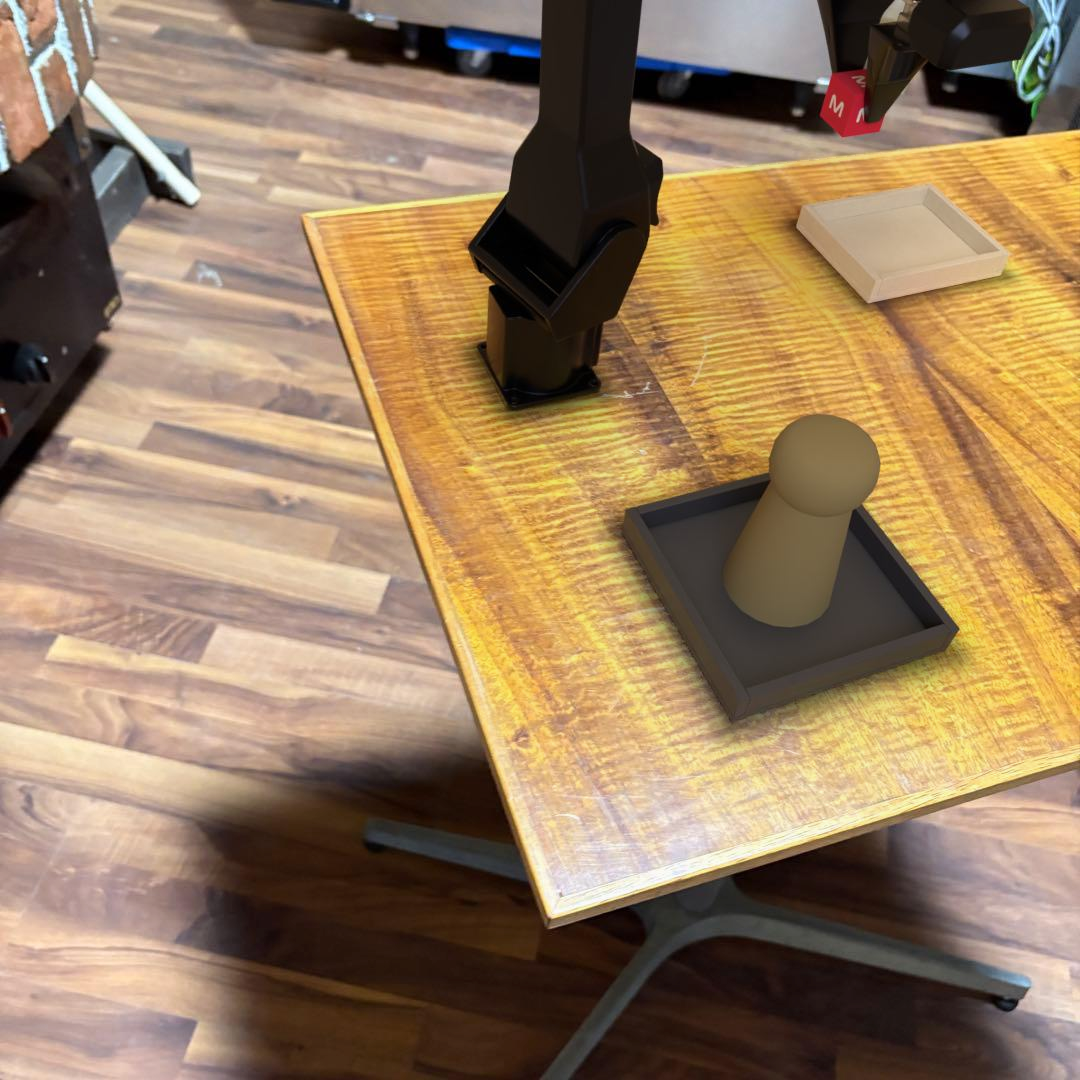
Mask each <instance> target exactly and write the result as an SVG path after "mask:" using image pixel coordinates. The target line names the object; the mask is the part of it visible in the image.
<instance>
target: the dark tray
mask: <svg viewBox="0 0 1080 1080" xmlns="http://www.w3.org/2000/svg"><path fill="white" fill-rule="evenodd" d="M770 482H771V480H770V473H769V471H768V472H765V473H759V474H757V475H752V476H750V477H745V478H741V479H737V480H733V481H729V482H726V483H722V484H717V485H714V486H710V487H706V488H703V489H700V490H695V491H690V492H687V493H683V494H679V495H676V496H675V495H674V496H671V497H669V498H664V499H660V500H656V501H651V502H649V503H645V504H641V505H636V506H631V507H629V508H625V512H624V516H623V521H622V527H621V534H622V535H623V537H624V539H625V541H626V542H627V544H628V546H629V548H630V549H631V551H632V553H633V555H634V557H635V558H636V560H637V562H638V563H639V565H640V567H641V569H642V571H643V572H644V574H645V576H646V577H647V579H648V580H649V582H650V585H651V586H652V588H653V589H654V591H655V592H656V594H657V596H658V598H659V600H660V601H661V603H662V605H663V607H664V608H665V610H666V611H667V613H668V615H669V617H670V619H671V621H672V622H673V624H674V625H675V627H676V629H677V630H678V632H679V634H680V636H681V638H682V639H683V641H684V643H685V644H686V647H687V648H688V649H689V651H690V653H691V655H692V656H693V658H694V660H695V661H696V663H697V665H698V667H699V669H700V670H701V673H702V674H703V675H704V677H705V679H706V681H707V683H708V684H709V686H710V688H711V689H712V691H713V693H714V695H715V696H716V698H717V700H718V701H719V703H720V705H721V707H722V708H723V710H724V712H725V714H726V715H727V717H728V719H729V720H730V722H731V723H734V722H736V721H737V722H738V721H739V720H743V719H745V718H749V717H751V716H754V715H757V714H760V713H763V712H766V711H769V710H772V709H775V708H778V707H781V706H784V705H787V704H790V703H792V702H796V701H800V700H802V699H805V698H808V697H811V696H814V695H816V694H820V693H823V692H826V691H828V690H832V689H835V688H837V687H841V686H844V685H847V684H849V683H853V682H855V681H859V680H862V679H864V678H868V677H870V676H873V675H876V674H879V673H882V672H885V671H888V670H891V669H894V668H898V667H900V666H903V665H905V664H909V663H912V662H915V661H918V660H921V659H924V658H926V657H927V658H928V657H929V656H932V655H935V654H938V653H941V652H944V651H947V649H948V648H949V646H950V645H951V643H952V642H953V640H954V639H955V637H956V636H957V635H958V633H959V632H960V629H961V628H960V627H959V626H958V624H957V623H956V622H955V621H954V618H952V616H950V614H949V613H948V612H947V610H946V609H945V608H944V606H943V605H942V604H941V603H940V601H939V600H938V599H937V598H936V596H935V595H934V594H933V593H932V591H931V590H930V589H929V588H928V586H927V585H926V583H925V582H924V581H923V579H921V577H920V576H919V575H918V574H917V572H916V571H915V569H914V568H913V567H912V566H911V564H910V563H909V562H908V561H907V559H906V558H905V556H903V554H902V553H901V552H900V551H899V549H898V548H897V547H896V545H895V544H894V543H893V542H892V540H891V539H890V538H889V536H888V535H887V534H886V533H885V532H884V530H883V529H882V528H881V526H880V525H879V524H878V522H877V521H876V520H875V519H874V518H873V516H872V515H871V513H870V512H869V511H868V510H867V509H866V507H865V506H864V504H863V503H862V504H861V505H860V506H859V507H858V508H856V509H854V510H852V514H851V518H850V522H849V526H848V530H847V535H846V539H845V543H844V547H843V551H842V555H841V559H840V563H839V567H838V571H837V575H836V579H835V583H834V587H833V591H832V595H831V599H830V603H829V607H828V608H827V609H826V611H825V612H824V613H823V614H822V616H821V617H820V618H818V619H816V620H814V621H812V622H811V623H809V624H806V625H801V626H796V627H780V626H772V625H769V624H766V623H763V622H760V621H757V620H755V619H754V618H752V617H751V616H749V615H748V614H746V613H744V612H743V611H741V610H740V609H739V607H738V606H737V605H736V604H735V603H734V602H733V601H732V600H731V599H730V597H729V595H728V593H727V591H726V589H725V587H724V583H723V569H724V566H725V563H726V560H727V558H728V556H729V554H730V553H731V551H732V549H733V547H734V545H735V544H736V542H737V540H738V538H739V537H740V535H741V533H742V531H743V529H744V528H745V526H746V524H747V522H748V521H749V519H750V517H751V515H752V513H753V512H754V510H755V508H756V506H757V505H758V503H759V501H760V499H761V498H762V496H763V494H764V492H765V490H766V489H767V487H768V485H769V483H770Z"/></svg>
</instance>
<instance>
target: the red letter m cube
mask: <svg viewBox="0 0 1080 1080" xmlns="http://www.w3.org/2000/svg"><path fill="white" fill-rule="evenodd" d="M866 73H867V68H864V69H862V70H854V71H847V72H839V73H832V72H831V75H830V78H829V82H828V86H827V90H826V92H825V96H824V100H823V104H822V106H821V110H820V114H819V117H820V118H821V119H822V120H823V121H824V122H825V123H827V125H828V126H830V127H831V128H832V129H833V131H835V132H836V133H837V134H838V135H839V136H840V137H841V138H849V137H855V136H862V135H868V134H875V133H880V131H881V129H882V126H883V123H884V121H885V120H884V119H885V116H886V114H885V115H884V117H883V118H882V119H881V120H880V121H879V122H877V123H871V124H867V123H866V122H865V121H864V95H865V84H866Z"/></svg>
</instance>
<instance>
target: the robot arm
mask: <svg viewBox="0 0 1080 1080" xmlns="http://www.w3.org/2000/svg"><path fill="white" fill-rule="evenodd" d="M895 1H896V0H816V2H817V8H818V10H819V11H818V12H819V15H820V19H821V24H822V27H823V31H824V36H825V37H824V38H825V43H826V46H827V48H826V49H827V52H828V58H829V65H830V71H831V74H832V73H839V72H847V71H854V70H862V69H865V67H866V69H867V73H866V84H865V95H864V121H865V122H866V123H867V124H871V123H877V122H879V121H880V120H881V119H882V118H883V117H884V115H885V116H886V114H887V113H888V112H889V110H890V109H891V107H893V105H894V103H895V102H896V101H897V100H898V98H899V97H900V95H902V93H903V92H904V91H905V89H906V88H907V86H908V85H909V84H910V83H911V81H912V80H913V78H914V77H916V76H917V74H918V72H919V71H920V70H921V69H922V67H924V66H925V65H926V64H927V63H928V62H929V63H930V64H932V65H933V66H934V67H936V68H937V69H941V70H946V71H950V72H951V71H956V70H964V69H971V68H977V67H983V66H988V65H989V66H991V65H997V64H1002V63H1010V62H1014V61H1015V62H1016V61H1021V60H1022V58H1023V57H1024V54H1025V51H1026V48H1027V46H1028V44H1029V42H1030V39H1031V37H1032V34H1033V31H1034V29H1035V25H1036V20H1035V18H1034V14H1033V12H1032V9H1031V7H1030V6H1028V5H1027V4H1025V3H1023V1H1020V0H902V1H903V2H904V6H903V10H902V11H900V12H899V14H898V16H897V20H895V21H888V22H881V21H882V18H883V16H884V14H885V12H886V11H887V10H888V9H889V7H891V5H893V3H894V2H895ZM642 7H643V0H541V28H540V29H541V30H540V32H541V34H540V58H539V59H540V62H539V63H540V64H539V95H538V99H539V100H538V116H537V121H536V122H535V123H534V125H533V126H532V128H531V129H530V131H528V133H527V134H526V136H525V138H524V139H523V141H522V142H521V144H520V145H519V146H518V148H517V149H516V151H515V153H514V155H513V159H512V166H511V172H510V178H509V184H508V190H507V192H506V193H505V194H504V195H503V197H502V199H501V200H500V201H499V203H498V204H497V205H496V207H495V208H494V210H493V211H492V212H491V214H490V215H489V216H488V218H486V220H485V222H484V223H482V226H481V227H480V228H479V230H478V231H477V232H476V234H475V235H474V236H473V238H472V239H471V240H470V242H469V244H468V246H467V251H468V254H469V256H470V259H471V261H472V264H473V267H474V269H475V270H476V271H477V272H478V273H479V274H483V275H484V276H485V277H486V278H487V279H488V280H489V281H490V282H491V283H492V284H490V285H489V286H488V290H487V293H488V294H487V321H486V341H481V342H479V343H478V344H477V345H476V353H477V355H478V358H479V359H480V361H481V363H482V365H483V367H484V369H485V370H486V372H487V374H488V376H489V378H490V380H491V382H492V384H493V385H494V387H495V389H496V391H497V392H498V394H499V396H500V398H501V400H502V402H503V404H504V406H505V407H506V408H507V409H508V410H509V411H511V412H512V411H513V412H516V411H517V412H518V411H521V410H526V409H530V408H535V407H539V406H543V405H544V406H545V405H548V404H552V403H557V402H562V401H567V400H573V399H576V398H580V397H584V396H590V395H593V394H598V393H600V392H601V389H602V381H601V380H600V378H599V377H598V375H597V373H596V372H595V370H594V369H593V367H596V366H598V364H599V361H600V353H601V346H602V339H603V332H604V326H605V323H606V322H609V321H611V320H613V319H615V318H616V317H617V316H618V314H619V312H620V309H621V307H622V305H623V304H624V301H625V298H626V295H627V293H628V291H629V289H630V287H631V284H632V282H633V280H634V278H635V276H636V273H637V271H638V268H639V266H640V263H641V262H642V260H643V257H644V255H645V252H646V250H647V248H648V242H649V239H650V236H651V235H650V234H651V227H652V226H653V227H657V226H659V224H660V218H659V214H658V200H659V196H660V191H661V189H662V188H661V187H662V183H663V180H664V176H665V175H664V163H663V159H662V158H661V157H660V156H659V155H657V154H655V153H654V152H653V151H651V150H650V149H648V148H647V147H645V146H644V145H643V144H642V143H640V142H638V141H637V140H636V139H634V138H633V135H632V131H631V115H632V106H633V105H632V103H633V94H634V85H635V76H636V75H635V74H636V66H637V58H638V55H637V54H638V47H639V38H640V30H641V29H640V28H641V27H640V26H641V19H642V18H641V17H642ZM884 118H885V117H884Z"/></svg>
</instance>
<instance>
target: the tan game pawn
mask: <svg viewBox="0 0 1080 1080" xmlns="http://www.w3.org/2000/svg"><path fill="white" fill-rule="evenodd" d="M881 463H882V462H881V458H880V453H879V450H878V447H877V445H876V443H875V442H874V439H873V438H872V436H871V435H870V434H869V433H868V432H867V431H865V430H864V428H862V427H861V426H860V425H858V424H856V423H855V422H853V421H851V420H849V419H846V418H844V417H840V416H836V415H834V414H826V413H825V414H823V413H816V414H815V413H814V414H808V415H804V416H802V417H800V418H797V419H795V420H794V421H791V422H790V423H788V424H786V426H785V427H784V428H783V429H782V430H781V431H780V432H779V434H778V435H777V436H776V438H775V439H774V442H773V444H772V447H771V451H770V454H769V457H768V472H769V473H770V480H771V482H770V483H769V485H768V487H767V489H766V490H765V492H764V494H763V496H762V498H761V499H760V501H759V503H758V505H757V506H756V508H755V510H754V512H753V513H752V515H751V517H750V519H749V521H748V522H747V524H746V526H745V528H744V529H743V531H742V533H741V535H740V537H739V538H738V540H737V542H736V544H735V545H734V547H733V549H732V551H731V553H730V554H729V556H728V558H727V560H726V563H725V566H724V569H723V583H724V587H725V589H726V591H727V593H728V595H729V597H730V599H731V600H732V601H733V602H734V603H735V604H736V605H737V606H738V607H739V609H740V610H741V611H743V612H744V613H746V614H748V615H749V616H751V617H752V618H754V619H755V620H757V621H760V622H763V623H766V624H769V625H772V626H780V627H796V626H801V625H806V624H809V623H811V622H812V621H814V620H816V619H818V618H820V617H821V616H822V614H823V613H824V612H825V611H826V609H827V608H828V607H829V603H830V599H831V595H832V591H833V587H834V583H835V579H836V575H837V571H838V567H839V563H840V559H841V555H842V551H843V547H844V543H845V539H846V535H847V530H848V526H849V522H850V518H851V514H852V510H854V509H856V508H858V507H859V506H860V505H861V504H862V505H863V503H864V502H865V501H866V500H868V498H869V497H870V495H872V493H873V492H874V490H875V488H876V487H877V485H878V481H879V478H880V477H879V476H880V472H881Z"/></svg>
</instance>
